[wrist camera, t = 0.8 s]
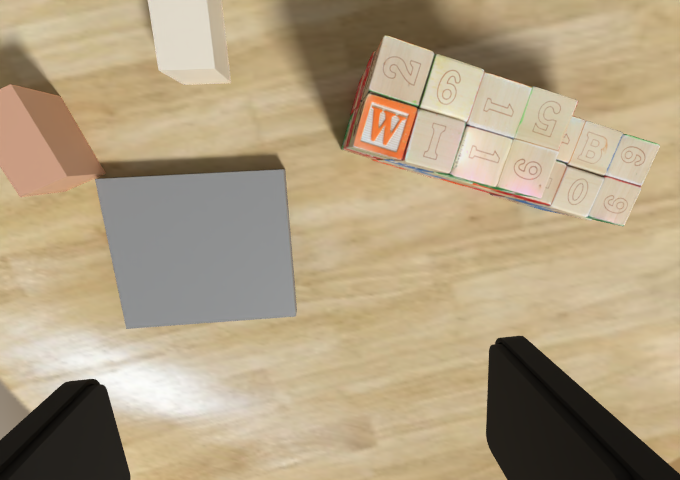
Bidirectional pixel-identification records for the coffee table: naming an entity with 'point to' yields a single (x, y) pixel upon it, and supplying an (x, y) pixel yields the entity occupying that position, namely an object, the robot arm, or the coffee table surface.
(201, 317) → the slate board
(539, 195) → the stack of blocks
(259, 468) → the coffee table surface
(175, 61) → the ivory brick
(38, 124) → the terracotta brick
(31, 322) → the coffee table surface
